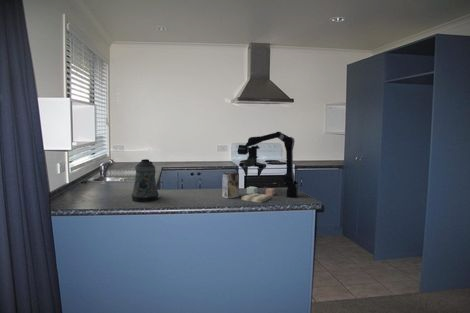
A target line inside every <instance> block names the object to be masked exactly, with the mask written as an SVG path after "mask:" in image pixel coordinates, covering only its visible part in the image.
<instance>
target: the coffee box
mask: <svg viewBox="0 0 470 313" xmlns="http://www.w3.org/2000/svg"><path fill="white" fill-rule="evenodd" d="M221 175H222V190H221V191H222V198H225V199H232V198H238V197H240V195H239V194H240V193H239V191H240V189H239V188H240V186H239V184H240V182H239V181H240V180H239V179H240V177H239V176H240V174H239V172H235V171H229V172H222V173H221Z"/></svg>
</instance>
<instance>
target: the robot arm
mask: <svg viewBox="0 0 470 313" xmlns="http://www.w3.org/2000/svg"><path fill="white" fill-rule="evenodd" d="M273 139H279V140H280V141H281V142H283V143H284V147H285V151H286V153H285V154H286V159H285V160H286V173H285V174H284V175H283V182H284V183H285V185H286V186H287V189H286V198H293V199H294V198H295V199H296V198H298V197H299V187H298V185H299V183H298V181H296V178H295V173H294V158H293V157H294V156H293V155H294V153H293V152H294V147H295V139H294V137H292V136H288V135H286V134H285V133H283V132H281V131H275V132H272V133H269V134H265V135H261V136H258V135H257V136H250V137H249V138H248V139H247V142H246V144H238V147H237V154H238V155H243V156H244V155H248V156H247V159H245V160H244V161H241V162H239V163H238V167H240V168H241V169H242V170H243V172H244V175H245V177H246V178H247V177H248V171H249V168H251V167H253V168H254V167H255V168H256V167H257V168H256V169H257V178H258V179H259V178H260V176H261V174H262V171H263V170H265V169H266V168H267V164H266V163H264V162H260V163H258V162H257V161H258V157H259V156H258V150H259V149H261V147H260V146H259V144H260V143H262V142H264V141H265V142H266V141H271V140H273Z"/></svg>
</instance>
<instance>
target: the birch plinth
mask: <svg viewBox="0 0 470 313" xmlns="http://www.w3.org/2000/svg"><path fill="white" fill-rule="evenodd" d="M240 199H241V201H248V202H252V203H253V202H254V203H260V204H262V203H263V202H266V201H268V200H270V199H272V197H271V195H266V194H263V193H258V192H257V193H250V194H249V193H246V194H245V195H243V196H241V198H240Z"/></svg>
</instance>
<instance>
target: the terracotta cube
mask: <svg viewBox="0 0 470 313" xmlns="http://www.w3.org/2000/svg"><path fill="white" fill-rule="evenodd" d="M275 190H276V189H275V188H269V187H268V188H265V195H271V196H272V197H273V196H274V194H275Z"/></svg>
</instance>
